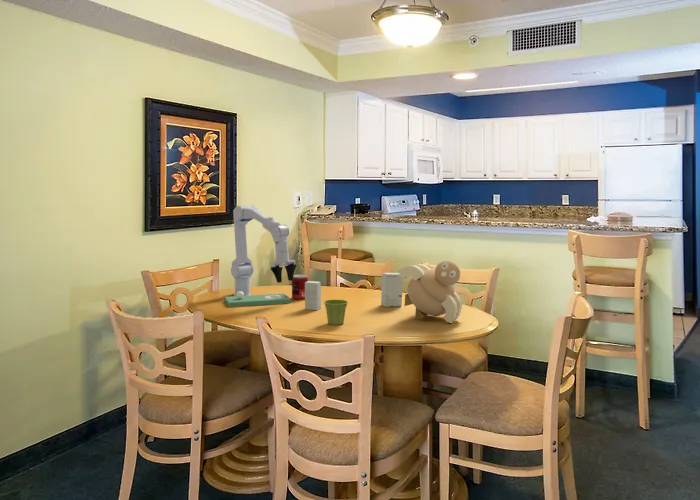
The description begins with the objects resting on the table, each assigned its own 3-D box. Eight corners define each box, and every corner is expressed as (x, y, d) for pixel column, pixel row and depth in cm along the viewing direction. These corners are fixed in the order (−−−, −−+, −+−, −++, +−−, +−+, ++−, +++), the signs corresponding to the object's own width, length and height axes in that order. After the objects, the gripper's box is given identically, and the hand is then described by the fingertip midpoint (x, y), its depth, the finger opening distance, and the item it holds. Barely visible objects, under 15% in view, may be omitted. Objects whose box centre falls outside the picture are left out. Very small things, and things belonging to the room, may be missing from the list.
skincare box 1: (321, 308, 243) (321, 281, 242) (317, 310, 239) (317, 283, 238) (308, 307, 245) (308, 280, 244) (304, 309, 241) (304, 282, 240)
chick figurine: (420, 239, 214) (443, 235, 233) (377, 288, 226) (403, 280, 245) (475, 296, 204) (494, 287, 223) (426, 344, 216) (449, 332, 235)
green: (224, 301, 257) (224, 296, 257) (283, 297, 267) (283, 293, 267) (229, 307, 244) (229, 302, 244) (290, 303, 254) (290, 298, 254)
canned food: (309, 296, 269) (309, 274, 268) (306, 300, 261) (306, 277, 260) (293, 296, 270) (293, 274, 269) (290, 299, 262) (290, 276, 261)
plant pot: (323, 320, 221) (323, 299, 220) (346, 320, 221) (347, 299, 220) (324, 326, 211) (324, 304, 210) (348, 326, 212) (348, 303, 211)
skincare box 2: (385, 307, 247) (385, 274, 245) (380, 304, 252) (381, 272, 251) (402, 306, 249) (403, 273, 248) (397, 303, 255) (398, 271, 253)
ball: (235, 298, 254) (235, 290, 253) (243, 297, 255) (243, 290, 254) (236, 299, 250) (236, 292, 250) (244, 299, 252) (244, 291, 251)
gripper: (277, 252, 242) (280, 283, 242) (299, 249, 254) (302, 279, 254) (266, 253, 246) (269, 283, 247) (287, 250, 258) (290, 279, 258)
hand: (285, 281), depth 251 cm, fingers open, 7 cm apart
